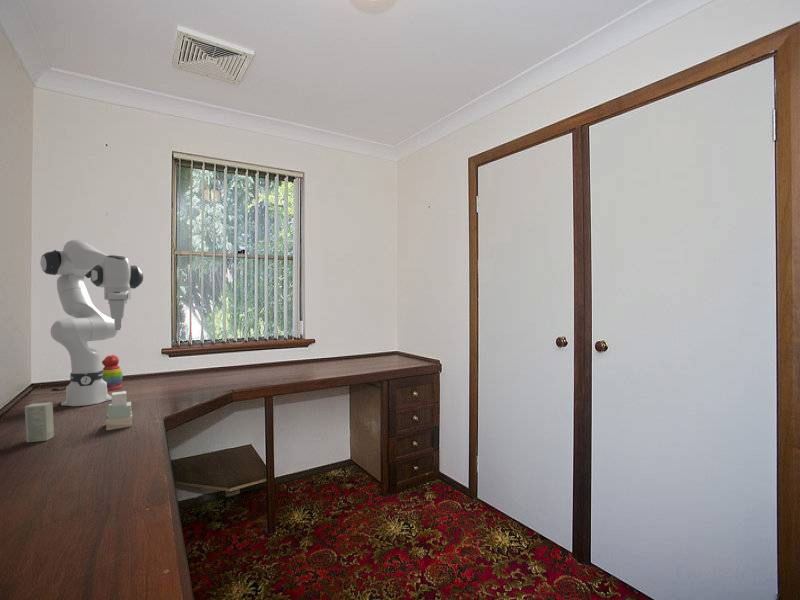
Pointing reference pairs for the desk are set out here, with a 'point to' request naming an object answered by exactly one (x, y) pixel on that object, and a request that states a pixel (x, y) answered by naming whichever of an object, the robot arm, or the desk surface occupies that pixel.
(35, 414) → the skincare box
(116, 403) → the cream block
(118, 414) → the green tower middle block
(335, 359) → the desk surface
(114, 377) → the stacking bear
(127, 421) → the tower base
